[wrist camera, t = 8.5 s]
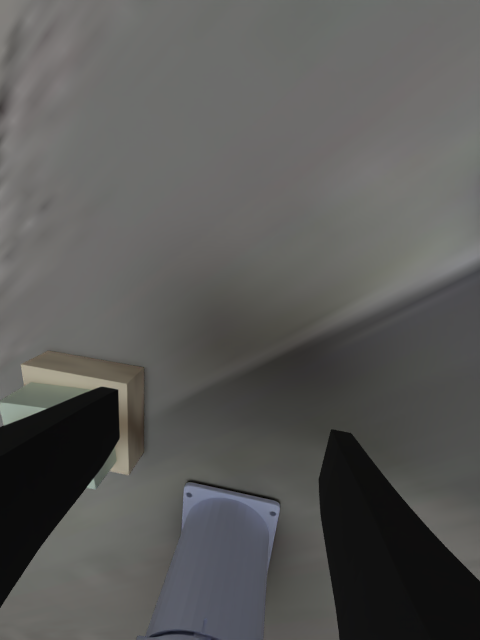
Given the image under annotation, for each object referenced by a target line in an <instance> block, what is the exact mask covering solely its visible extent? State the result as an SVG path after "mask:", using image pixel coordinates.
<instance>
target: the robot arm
mask: <svg viewBox="0 0 480 640" xmlns="http://www.w3.org/2000/svg"><path fill="white" fill-rule="evenodd" d="M119 439H120V429H119V396H118V389H113V388H108V387H99V388H96V389H93V390H91V391H88V392H85V393H83V394H81V395H78V396H76V397H73V398H71V399H69V400H66V401H64V402H62V403H59V404H57V405H54V406H52V407H50V408H47V409H45V410H42V411H40V412H38V413H35V414H33V415H30V416H28V417H25V418H23V419H20V420H17V421H15V422H12V423H10V424H7V425H5V426H2V427H0V607H1V606H2V604H3V603H4V601H5V600H6V598H7V596H8V595H9V593H10V592H11V590H12V589H13V587H14V586H15V584H16V583H17V581H18V580H19V578H20V577H21V575H22V574H23V572H24V571H25V569H26V568H27V566H28V565H29V563H30V562H31V560H32V559H33V557H34V556H35V554H36V553H37V551H38V550H39V548H40V547H41V546H42V544H43V543H44V542H45V540H46V539H47V537H48V536H49V535H50V533H51V532H52V531H53V530H54V528H55V527H56V526H57V524H58V523H59V522H60V521H61V519H62V518H63V517H64V516H65V514H66V513H67V512H68V511H69V509H70V508H71V507H72V505H73V504H74V503H75V502H76V500H77V499H78V498H79V497H80V495H81V494H82V493H83V491H84V490H85V489H86V488H87V486H88V485H89V484H90V482H91V481H92V480H93V479H94V477H95V476H96V475H97V473H98V472H99V471H100V469H101V468H102V467H103V465H104V464H105V462H106V460H107V459H108V457H109V456H110V454H111V452H112V451H113V449H114V447H115V446H116V444H117V442H118V440H119ZM319 497H320V513H321V520H322V527H323V533H324V539H325V546H326V552H327V558H328V564H329V570H330V576H331V582H332V588H333V594H334V600H335V606H336V614H337V621H338V629H339V639H340V640H480V581H479V580H478V579H477V578H476V577H475V576H474V575H473V574H472V573H471V572H470V571H469V570H468V569H467V568H466V567H465V566H464V565H463V564H462V563H461V562H460V561H459V560H458V559H457V558H456V557H455V556H454V555H453V554H452V553H451V552H450V551H449V550H448V549H447V548H446V547H445V545H444V544H443V543H442V542H441V541H440V540H439V539H438V538H437V537H436V536H435V535H434V534H433V533H432V532H431V530H430V529H429V528H428V527H427V526H426V525H425V524H424V523H423V521H422V520H421V519H420V518H419V517H418V516H417V515H416V514H415V512H414V511H413V510H412V509H411V508H410V507H409V506H408V504H407V503H406V502H405V501H404V500H403V499H402V497H401V496H400V495H399V494H398V493H397V491H396V490H395V489H394V488H393V486H392V485H391V484H390V483H389V482H388V480H387V479H386V478H385V477H384V475H383V474H382V473H381V471H380V470H379V469H378V468H377V466H376V465H375V464H374V462H373V461H372V460H371V459H370V457H369V456H368V455H367V453H366V452H365V451H364V449H363V448H362V447H361V445H360V444H359V443H358V441H357V440H356V439H355V438H354V436H353V435H352V434H351V433H348V432H342V431H337V430H332V429H331V432H330V436H329V440H328V444H327V448H326V452H325V456H324V460H323V464H322V468H321V472H320V476H319ZM272 511H273V512H272ZM279 512H280V504H279V503H278V502H277V501H274V500H269V499H265V498H260V497H256V496H251V495H247V494H242V493H238V492H233V491H229V490H224V489H220V488H215V487H211V486H206V485H201V484H197V483H192V482H188V483H186V484H185V487H184V495H183V513H182V530H181V535H180V538H179V541H178V544H177V547H176V549H175V552H174V555H173V558H172V561H171V564H170V567H169V569H168V572H167V575H166V578H165V581H164V584H163V587H162V589H161V592H160V595H159V598H158V601H157V604H156V607H155V609H154V612H153V615H152V618H151V621H150V624H149V627H148V629H147V632H146V635H145V637H144V636H140V635H139V636H137V639H136V640H263V637H264V619H265V602H266V584H267V572H268V567H269V562H270V557H271V552H272V547H273V542H274V537H275V532H276V527H277V522H278V517H279Z"/></svg>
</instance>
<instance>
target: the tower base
mask: <svg viewBox="0 0 480 640" xmlns="http://www.w3.org/2000/svg"><path fill="white" fill-rule="evenodd" d="M21 368H22V374H23V381H24V386H25V385H27V384H29V383H30V382H33V383H42V384H50V385H58V386H67V387H75V388H83V389H92V390H93V389H96V388H99V387H108V388H113V389H118V396H119V429H120V439H119V440H118V442H117V444H116V446H115V452H116V460H117V461H116V463H115V464H114V465H113V467H112V468H111V470H110V471H111V472H115V473H120V474H124V475H130V473H131V471H132V470H133V468H134V467H135V465H136V464H137V462H138V461H139V459H140V457H141V456H142V454H143V453H144V367H138V366H132V365H127V364H121V363H115V362H110V361H104V360H98V359H93V358H87V357H81V356H76V355H70V354H65V353H59V352H53V351H47V352H45V353H43V354H41V355H39V356H37V357H35V358H33V359H31V360H29V361H27V362H25V363H23V364H21Z"/></svg>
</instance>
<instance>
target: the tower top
mask: <svg viewBox="0 0 480 640" xmlns="http://www.w3.org/2000/svg"><path fill="white" fill-rule="evenodd" d="M91 390H92V389H83V388H75V387H67V386H58V385H50V384H42V383H33V382H30V383H29V384H27V385H25V386H24V387H22V388H20V389H19V390H17V391H15V392H14V393H12V394H10V395H9V396H7V397H5V398H4V399H2V400H0V412H1V416H2V420H3V424H4V426H5V425H7V424H10V423H12V422H15V421H17V420H20V419H23V418H25V417H28V416H30V415H33V414H35V413H38V412H40V411H42V410H45V409H47V408H50V407H52V406H54V405H57V404H59V403H62V402H64V401H66V400H69V399H71V398H73V397H76V396H78V395H81V394H83V393H85V392H88V391H91ZM116 461H117V460H116V452H115V447H114V449H113V451H112V452H111V454H110V456H109V457H108V459H107V460H106V462H105V464H104V465H103V467H102V468H101V469H100V471H99V472H98V473H97V475H96V476H95V477H94V479H93V480H92V481H91V482H90V484H89V485H88V486H87V488H90V489H97V487H98V486H99V484H100V483H101V482H102V480H103V479H104V478H105V476H106V475H107V474H108V472H109V471H110V470H111V468H112V467H113V465H114V464H115V463H116Z"/></svg>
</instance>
